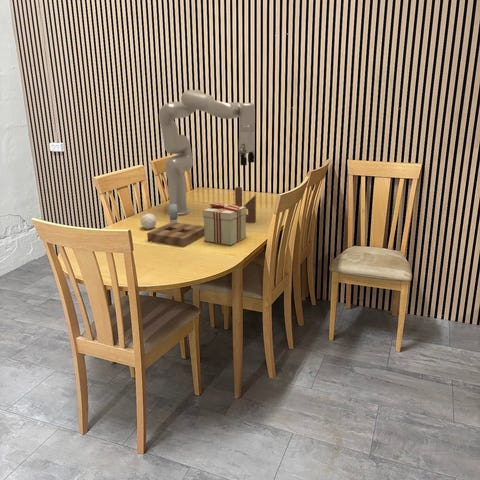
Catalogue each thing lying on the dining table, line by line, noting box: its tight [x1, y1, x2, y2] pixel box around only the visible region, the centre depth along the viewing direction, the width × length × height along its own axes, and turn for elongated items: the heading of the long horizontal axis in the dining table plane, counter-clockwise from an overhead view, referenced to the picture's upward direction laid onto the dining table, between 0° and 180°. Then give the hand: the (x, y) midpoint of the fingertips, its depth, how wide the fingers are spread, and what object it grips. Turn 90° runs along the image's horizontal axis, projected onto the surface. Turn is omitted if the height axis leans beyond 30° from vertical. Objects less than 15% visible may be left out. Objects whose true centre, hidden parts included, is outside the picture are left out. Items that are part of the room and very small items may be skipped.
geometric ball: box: [140, 212, 157, 230], centre depth 244 cm, size 8×8×8 cm
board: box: [146, 221, 205, 248], centre depth 229 cm, size 20×20×4 cm
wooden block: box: [234, 186, 257, 224], centre depth 252 cm, size 4×11×18 cm, turn 77°
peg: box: [169, 204, 179, 223], centre depth 247 cm, size 4×4×11 cm
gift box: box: [202, 201, 247, 246], centre depth 226 cm, size 17×18×17 cm
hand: (247, 163), depth 244 cm, fingers open, 9 cm apart
